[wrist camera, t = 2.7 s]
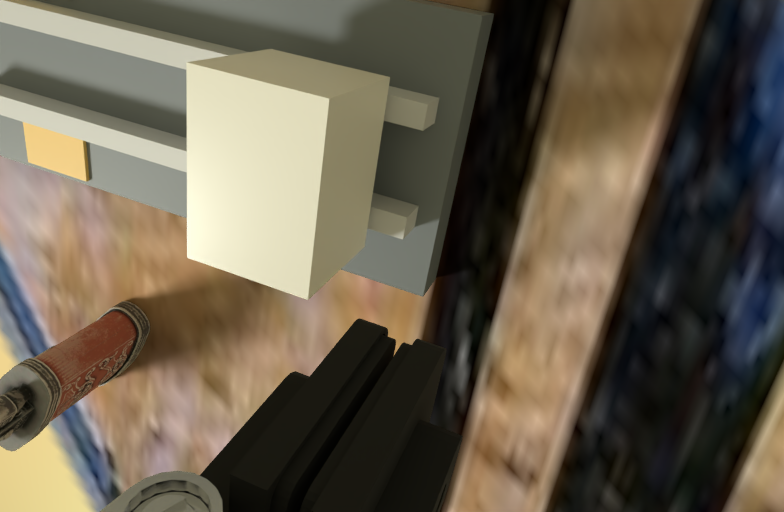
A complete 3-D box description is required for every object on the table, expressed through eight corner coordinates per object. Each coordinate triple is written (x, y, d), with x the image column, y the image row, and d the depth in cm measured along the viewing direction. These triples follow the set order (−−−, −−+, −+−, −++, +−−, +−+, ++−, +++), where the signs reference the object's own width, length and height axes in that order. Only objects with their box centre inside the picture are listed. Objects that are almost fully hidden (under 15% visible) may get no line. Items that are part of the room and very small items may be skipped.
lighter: (121, 289, 37) (-34, 380, 28) (160, 328, 37) (17, 429, 28) (77, 354, 41) (-70, 449, 33) (111, 389, 41) (-26, 493, 33)
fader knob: (404, 72, 23) (329, 98, 17) (378, 234, 26) (307, 300, 21) (290, 45, 24) (186, 62, 19) (278, 203, 27) (187, 257, 22)
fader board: (493, 13, 23) (472, 17, 20) (435, 278, 29) (412, 312, 26) (-10, -87, 30) (-82, -95, 27) (22, 145, 35) (-35, 159, 32)
